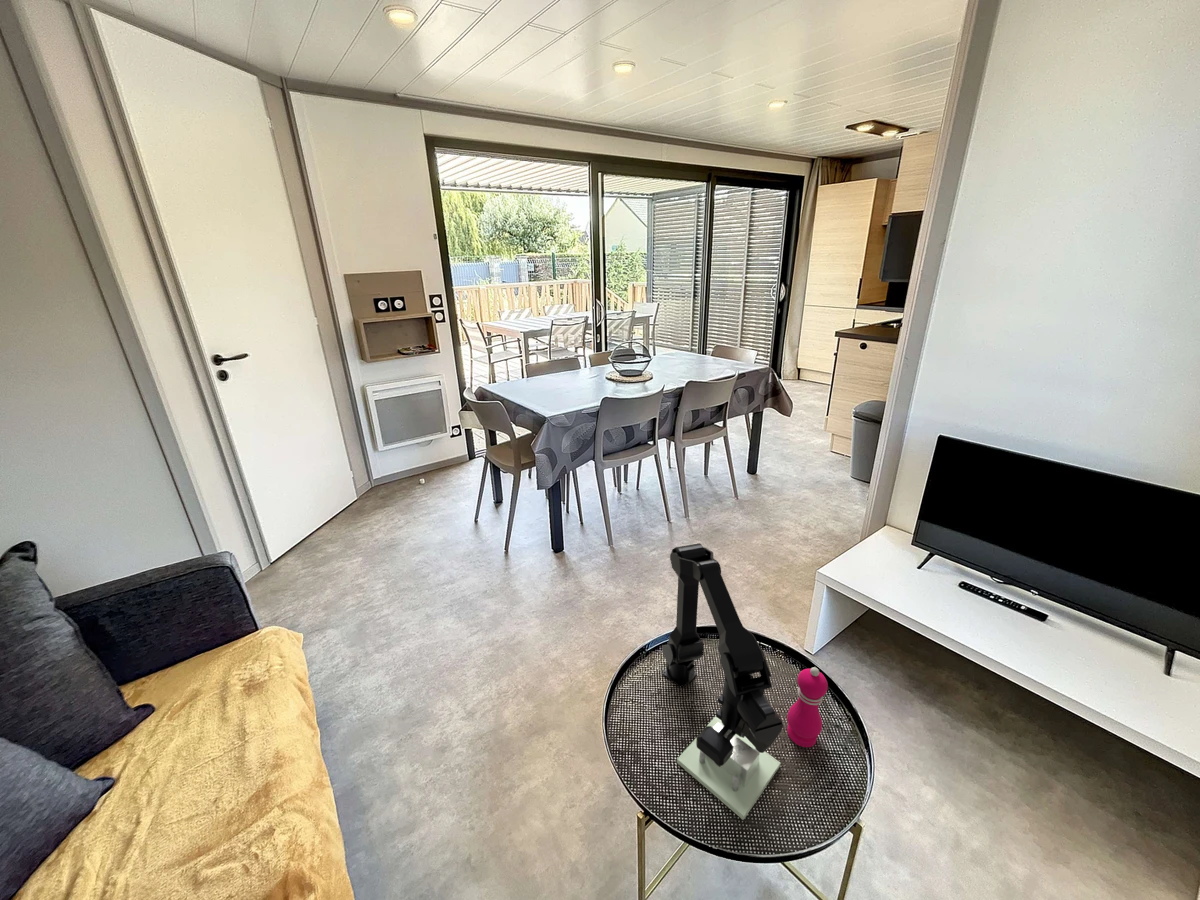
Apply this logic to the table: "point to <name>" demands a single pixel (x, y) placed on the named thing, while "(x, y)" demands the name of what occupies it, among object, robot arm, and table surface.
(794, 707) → the pepper mill
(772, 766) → the pale green peg board
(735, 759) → the block
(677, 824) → the table surface
